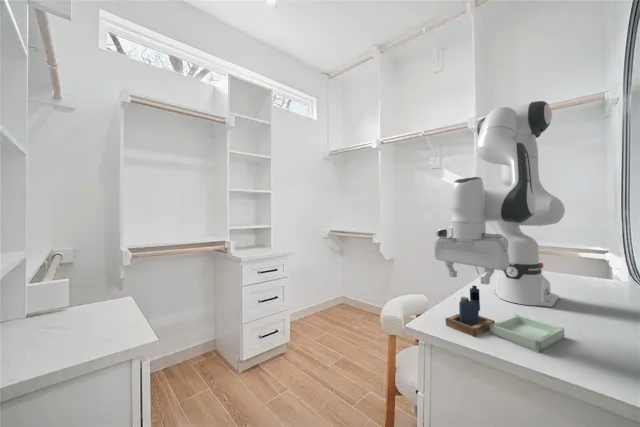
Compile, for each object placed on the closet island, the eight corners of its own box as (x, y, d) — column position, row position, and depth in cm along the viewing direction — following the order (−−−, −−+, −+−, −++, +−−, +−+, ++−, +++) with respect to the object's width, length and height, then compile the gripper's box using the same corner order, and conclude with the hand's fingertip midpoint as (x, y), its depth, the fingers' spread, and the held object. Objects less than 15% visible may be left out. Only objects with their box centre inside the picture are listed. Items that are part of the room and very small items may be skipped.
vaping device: (480, 330, 71) (479, 287, 71) (459, 325, 74) (458, 285, 74) (481, 327, 73) (480, 285, 73) (460, 322, 76) (459, 283, 77)
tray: (516, 323, 76) (516, 314, 76) (564, 338, 66) (564, 328, 66) (490, 334, 69) (490, 325, 69) (539, 352, 59) (539, 342, 59)
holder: (466, 317, 80) (466, 311, 80) (494, 327, 73) (494, 320, 73) (445, 325, 75) (445, 318, 75) (473, 336, 68) (473, 329, 68)
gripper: (514, 234, 66) (514, 287, 66) (443, 230, 84) (443, 272, 84) (501, 235, 63) (502, 290, 63) (430, 231, 81) (431, 274, 81)
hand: (468, 280), depth 74 cm, fingers open, 8 cm apart
